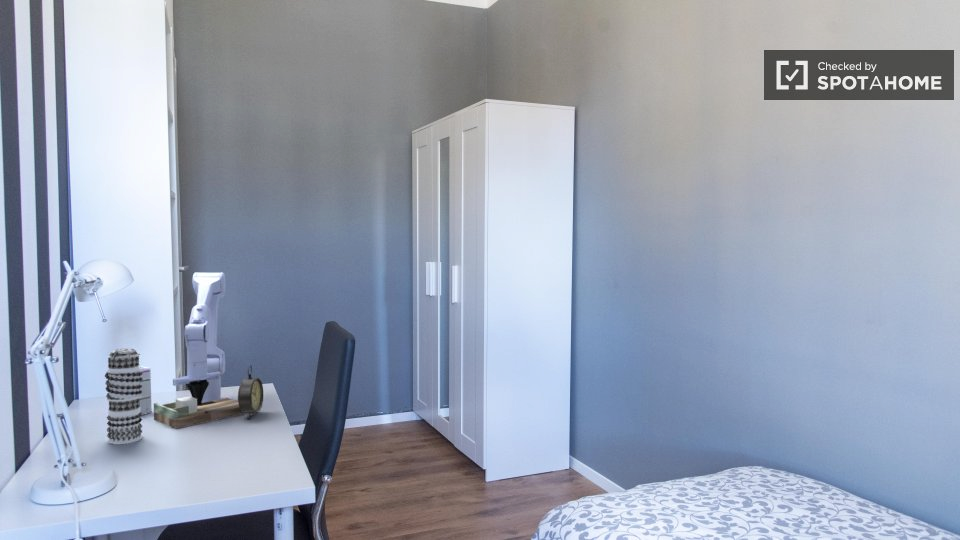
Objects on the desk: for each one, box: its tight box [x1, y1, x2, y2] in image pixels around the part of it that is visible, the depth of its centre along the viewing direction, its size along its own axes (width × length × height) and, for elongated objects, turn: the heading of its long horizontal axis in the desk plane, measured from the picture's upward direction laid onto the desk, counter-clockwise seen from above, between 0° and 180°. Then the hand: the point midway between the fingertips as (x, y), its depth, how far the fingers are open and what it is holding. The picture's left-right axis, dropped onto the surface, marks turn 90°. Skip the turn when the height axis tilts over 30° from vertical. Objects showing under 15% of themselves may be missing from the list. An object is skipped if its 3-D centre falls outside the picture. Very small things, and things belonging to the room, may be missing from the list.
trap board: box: [153, 397, 245, 430], centre depth 207 cm, size 14×24×5 cm, turn 140°
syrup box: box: [139, 365, 153, 415], centre depth 209 cm, size 6×6×14 cm
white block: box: [175, 395, 197, 413], centre depth 202 cm, size 4×4×4 cm
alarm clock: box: [237, 364, 264, 420], centre depth 207 cm, size 11×5×16 cm, turn 179°
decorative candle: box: [104, 348, 143, 445], centre depth 182 cm, size 9×9×25 cm
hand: (197, 404), depth 205 cm, fingers closed
